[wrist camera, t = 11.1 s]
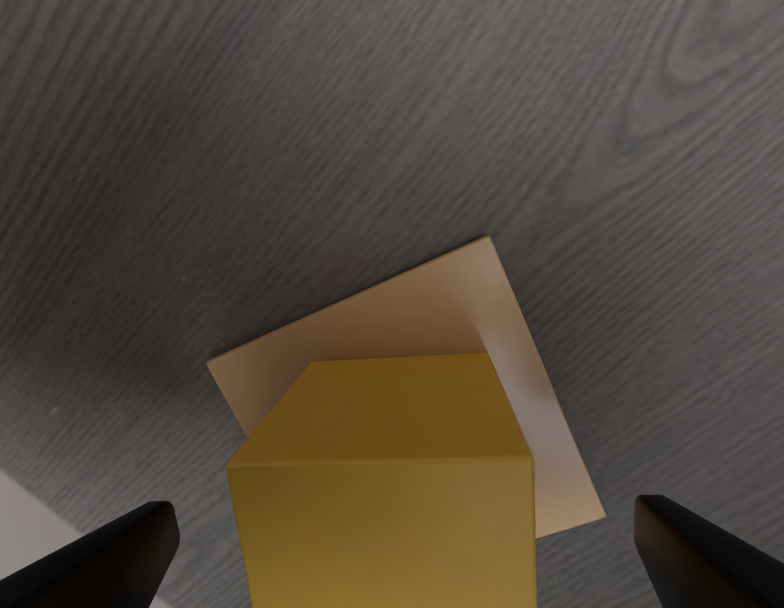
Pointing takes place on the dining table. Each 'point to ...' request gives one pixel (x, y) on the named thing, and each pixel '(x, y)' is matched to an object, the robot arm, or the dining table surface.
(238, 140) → the dining table surface
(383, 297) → the cork coaster
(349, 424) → the mustard cube
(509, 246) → the dining table surface
